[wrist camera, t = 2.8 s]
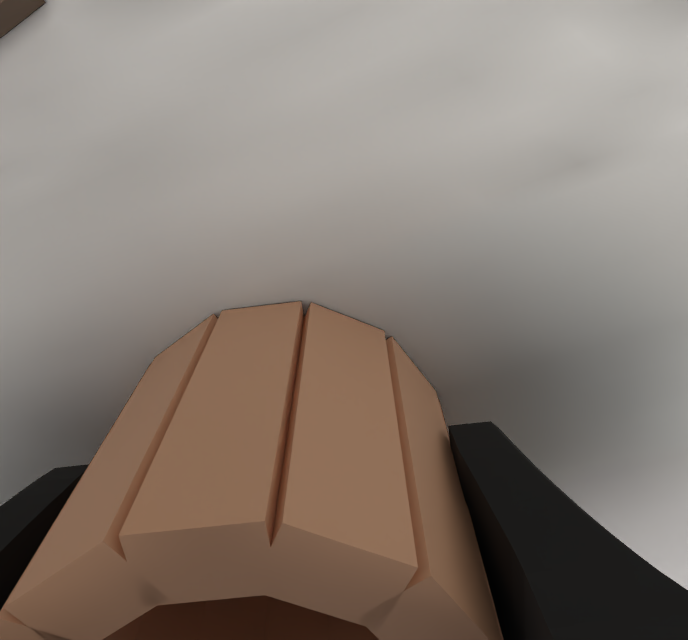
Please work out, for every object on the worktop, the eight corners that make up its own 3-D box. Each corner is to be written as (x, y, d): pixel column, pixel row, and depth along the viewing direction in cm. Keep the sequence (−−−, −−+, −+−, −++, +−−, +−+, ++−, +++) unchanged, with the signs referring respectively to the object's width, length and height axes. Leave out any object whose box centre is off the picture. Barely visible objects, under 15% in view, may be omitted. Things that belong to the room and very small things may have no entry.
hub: (173, 577, 12) (68, 904, 8) (97, 325, 10) (-109, 558, 6) (450, 550, 12) (518, 869, 7) (430, 285, 10) (504, 496, 5)
